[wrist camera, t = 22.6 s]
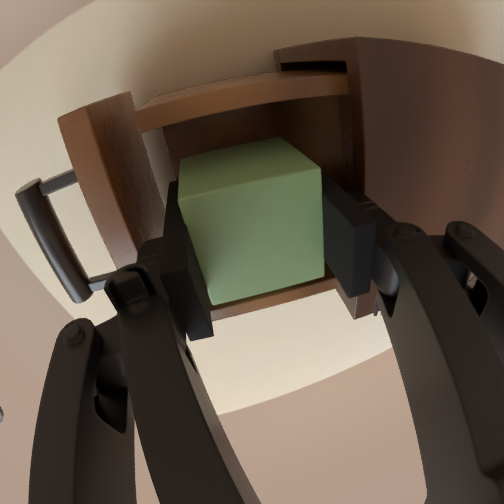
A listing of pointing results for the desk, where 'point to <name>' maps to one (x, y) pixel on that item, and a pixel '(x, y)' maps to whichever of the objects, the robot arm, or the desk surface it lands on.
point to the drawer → (180, 146)
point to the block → (253, 217)
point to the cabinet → (419, 133)
